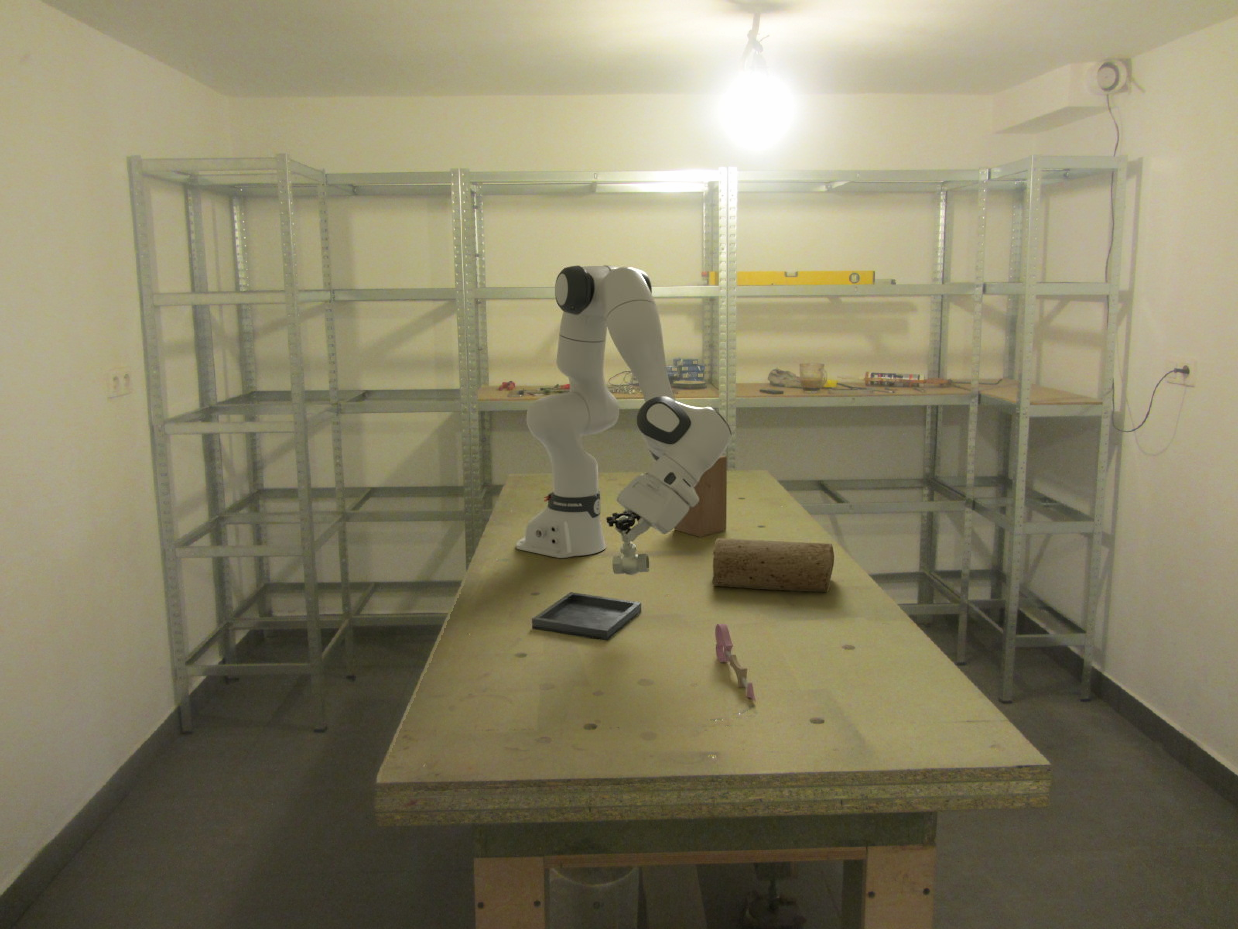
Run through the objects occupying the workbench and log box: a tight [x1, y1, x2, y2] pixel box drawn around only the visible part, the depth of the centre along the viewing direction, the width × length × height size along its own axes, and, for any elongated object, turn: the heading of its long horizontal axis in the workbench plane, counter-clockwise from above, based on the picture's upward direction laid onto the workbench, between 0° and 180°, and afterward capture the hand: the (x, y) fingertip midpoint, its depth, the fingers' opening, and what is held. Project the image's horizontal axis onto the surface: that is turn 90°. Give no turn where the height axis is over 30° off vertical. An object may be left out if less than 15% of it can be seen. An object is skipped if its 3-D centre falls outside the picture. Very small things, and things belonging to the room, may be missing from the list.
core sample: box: [711, 537, 835, 593], centre depth 196 cm, size 14×26×10 cm, turn 77°
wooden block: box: [673, 454, 728, 538], centre depth 237 cm, size 10×10×20 cm
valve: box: [605, 509, 650, 576], centre depth 174 cm, size 7×7×12 cm
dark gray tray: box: [531, 591, 642, 642], centre depth 178 cm, size 16×16×2 cm
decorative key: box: [714, 623, 756, 702], centre depth 151 cm, size 7×1×20 cm
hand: (623, 535), depth 173 cm, fingers closed on valve, 3 cm apart
